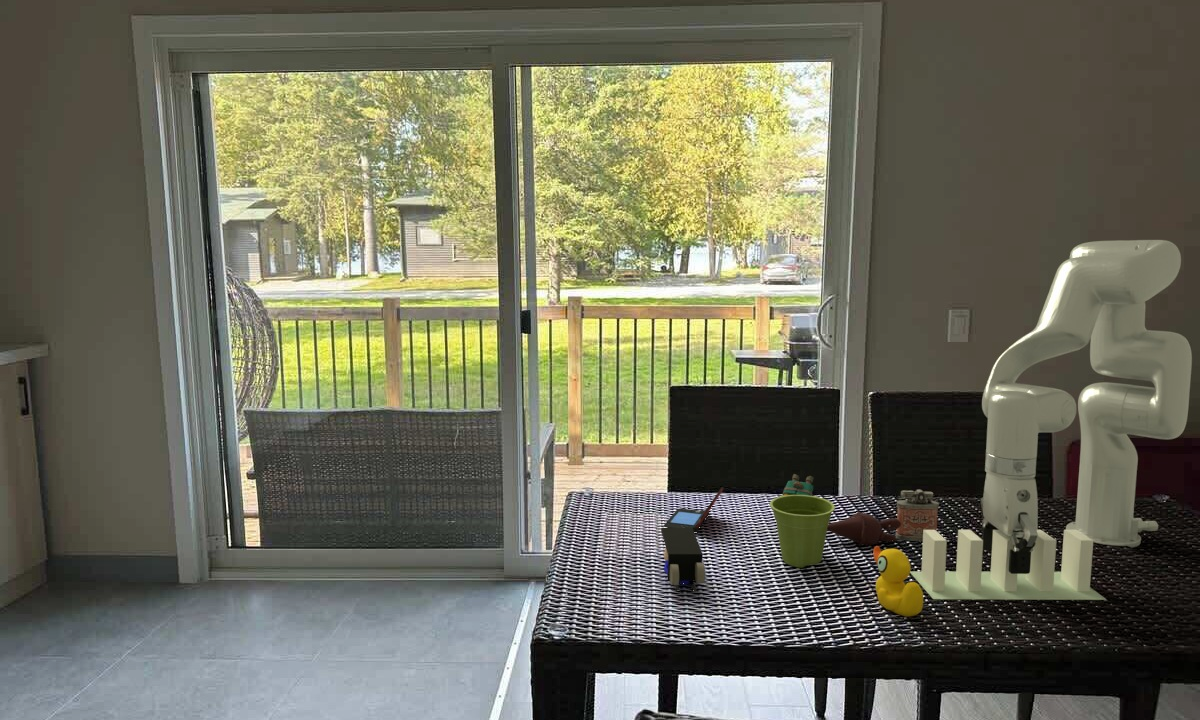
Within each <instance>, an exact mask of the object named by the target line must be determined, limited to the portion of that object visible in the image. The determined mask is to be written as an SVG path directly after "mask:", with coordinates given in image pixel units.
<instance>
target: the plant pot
mask: <svg viewBox="0 0 1200 720" xmlns="http://www.w3.org/2000/svg"><path fill="white" fill-rule="evenodd" d="M780 496H781V497H780ZM780 496H778V497H775V498H773V499H772V500H770V502H769V507H770V508H771V510H772V511H773V516H774V520H775V522H776V528H777V536H778V541H779V547H780V554H781V559H782V560H783V562H784V563H785V564H787V565H789V566H791V567H795V568H800V569H801V568H805V567H806V566H812V565H817V564H819V563H821V562H822V559H823V555H824V554H823V553H824V548H825V542H826V538H827V532H828V530H827V527H828V524H830V521H831V516H832V513H833V512H834V511H835V509H836V508H835V507H836V506H835V505H834V503H832V501H829V500H828V499H825V498H822V497H818V496H814V495H812V496H808V495H786V496H782V495H780Z"/></svg>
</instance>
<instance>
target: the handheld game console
mask: <svg viewBox="0 0 1200 720" xmlns="http://www.w3.org/2000/svg"><path fill="white" fill-rule="evenodd" d="M723 490H724V487H723V486H722V487H720V489H719V490H718V491H717V493H716V495H714V498H713V499H712V500H711V501H710V503H709V505H708V506H707V508H706V509H705V510H702V509H701V510H699V509H689V508H677V509H676V510H675V511H674V512H673V514H672V515H671V516H670V517H669V518H668V520H667V521H666V522H665V523H664V524H663V527H664V526H665V527H668V528H693V531H694V532H697V530H698V529H699V527H700V526H701V527H702V525H703V523H704V522H703V521H704V520H705V518H706V517H707V516H708V515H709V516H710V510H711V509H712V507H713V506H714V505H715V503H716V501H717V500H718V499H719V497H720V495H721V493H722V492H723ZM709 516H708V517H709ZM705 521H706V520H705ZM701 527H700V528H701ZM699 530H700V529H699ZM699 530H698V531H699ZM697 533H698V532H697Z"/></svg>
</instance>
